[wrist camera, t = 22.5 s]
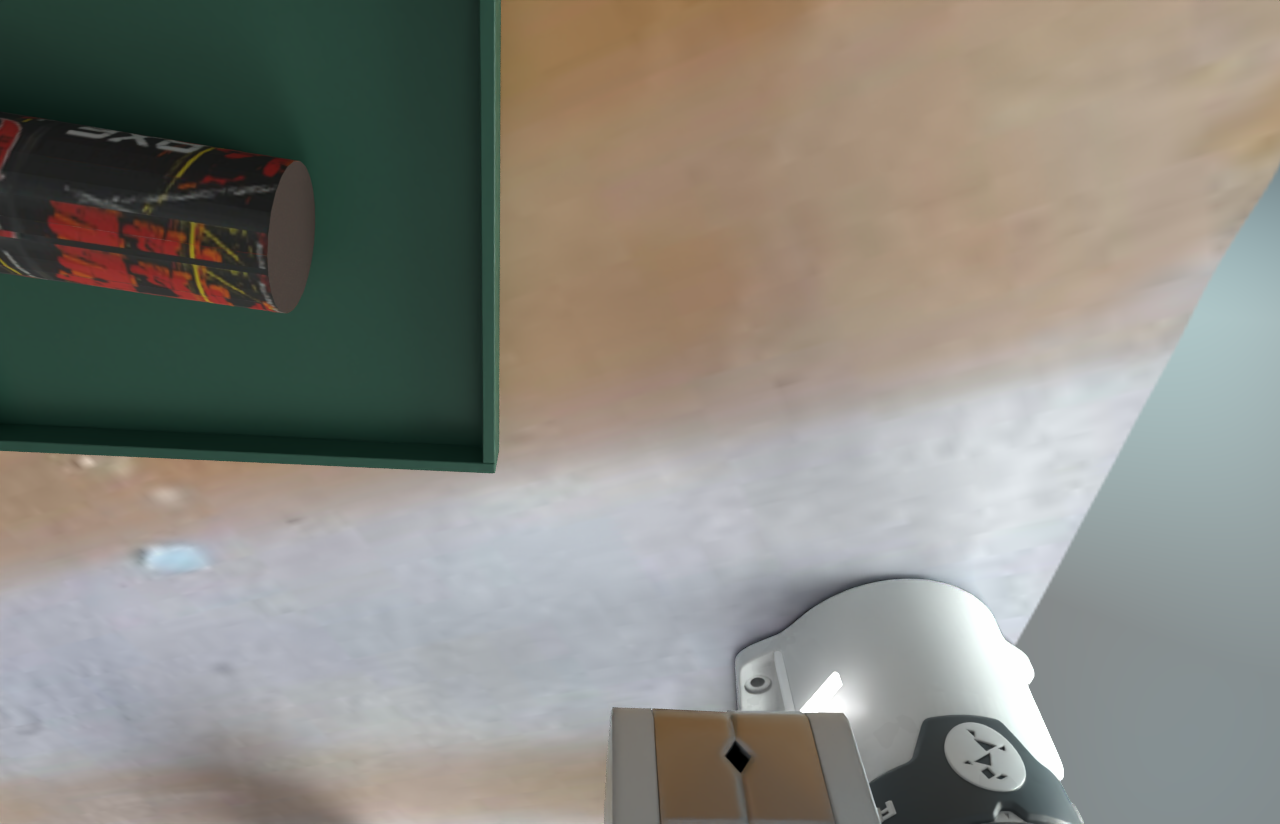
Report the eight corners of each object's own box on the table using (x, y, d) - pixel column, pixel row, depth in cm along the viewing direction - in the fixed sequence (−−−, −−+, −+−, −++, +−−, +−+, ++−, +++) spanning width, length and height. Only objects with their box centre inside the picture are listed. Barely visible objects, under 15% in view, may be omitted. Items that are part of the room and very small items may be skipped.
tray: (498, 451, 42) (494, 473, 40) (-5, 427, 40) (-32, 449, 38) (501, -74, 30) (495, -74, 28) (-215, -149, 28) (-268, -154, 26)
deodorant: (307, 311, 35) (-73, 257, 33) (320, 171, 35) (-68, 107, 33) (261, 316, 30) (-203, 251, 28) (275, 148, 29) (-201, 69, 27)
